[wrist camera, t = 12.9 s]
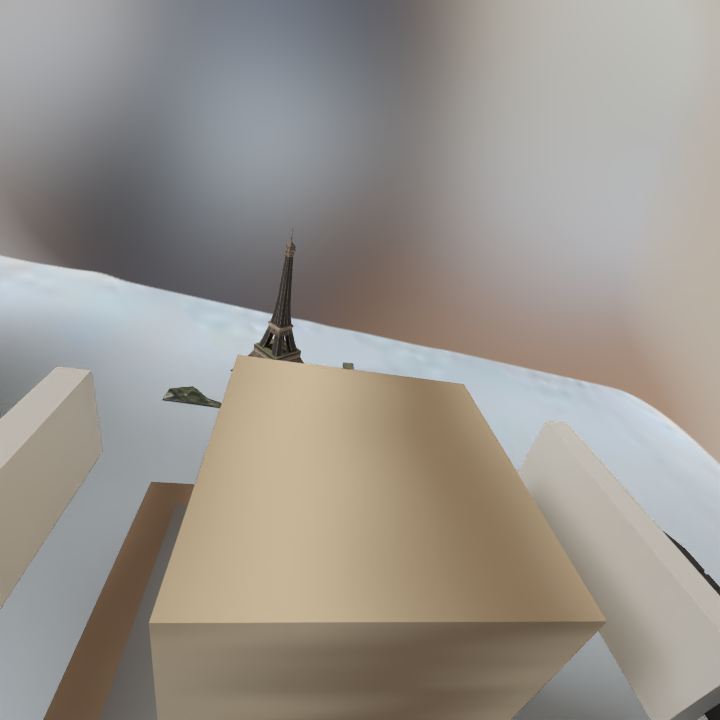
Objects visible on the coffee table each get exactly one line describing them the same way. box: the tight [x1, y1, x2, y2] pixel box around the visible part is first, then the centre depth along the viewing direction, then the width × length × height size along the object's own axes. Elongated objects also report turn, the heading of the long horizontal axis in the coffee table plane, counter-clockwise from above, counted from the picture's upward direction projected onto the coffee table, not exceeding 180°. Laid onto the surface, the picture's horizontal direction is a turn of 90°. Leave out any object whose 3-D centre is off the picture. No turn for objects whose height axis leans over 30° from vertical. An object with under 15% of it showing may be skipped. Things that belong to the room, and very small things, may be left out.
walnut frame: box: [44, 482, 194, 720], centre depth 13 cm, size 14×16×4 cm
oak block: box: [149, 355, 607, 720], centre depth 10 cm, size 6×6×10 cm
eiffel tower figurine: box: [163, 229, 353, 408], centre depth 31 cm, size 15×10×13 cm
